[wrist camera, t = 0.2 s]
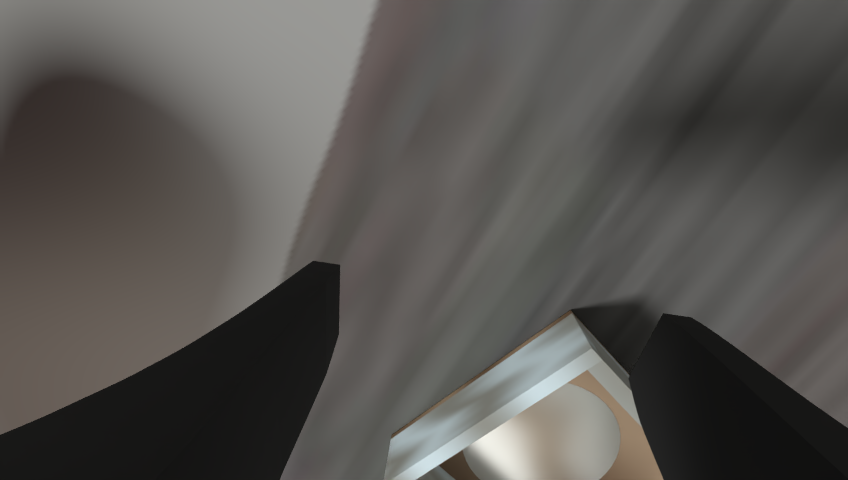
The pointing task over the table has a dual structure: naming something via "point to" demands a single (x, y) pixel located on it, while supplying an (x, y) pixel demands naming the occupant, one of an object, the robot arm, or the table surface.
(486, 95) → the table surface
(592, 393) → the pen board
